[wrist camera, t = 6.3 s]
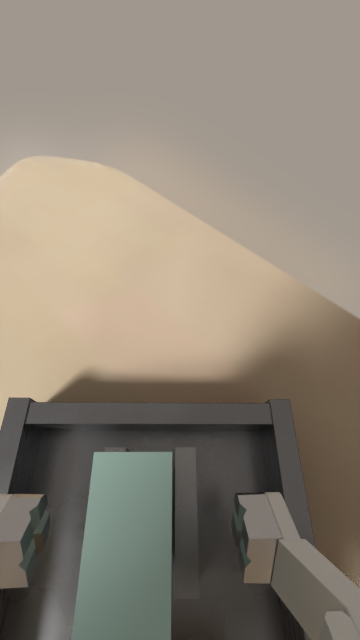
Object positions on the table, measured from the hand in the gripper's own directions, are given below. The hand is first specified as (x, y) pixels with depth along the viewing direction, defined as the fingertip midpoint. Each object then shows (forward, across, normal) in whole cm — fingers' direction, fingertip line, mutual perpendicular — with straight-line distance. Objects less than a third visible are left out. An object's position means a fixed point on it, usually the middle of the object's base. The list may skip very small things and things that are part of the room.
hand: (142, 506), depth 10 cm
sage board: (+4, 0, +4) cm, 6 cm away
